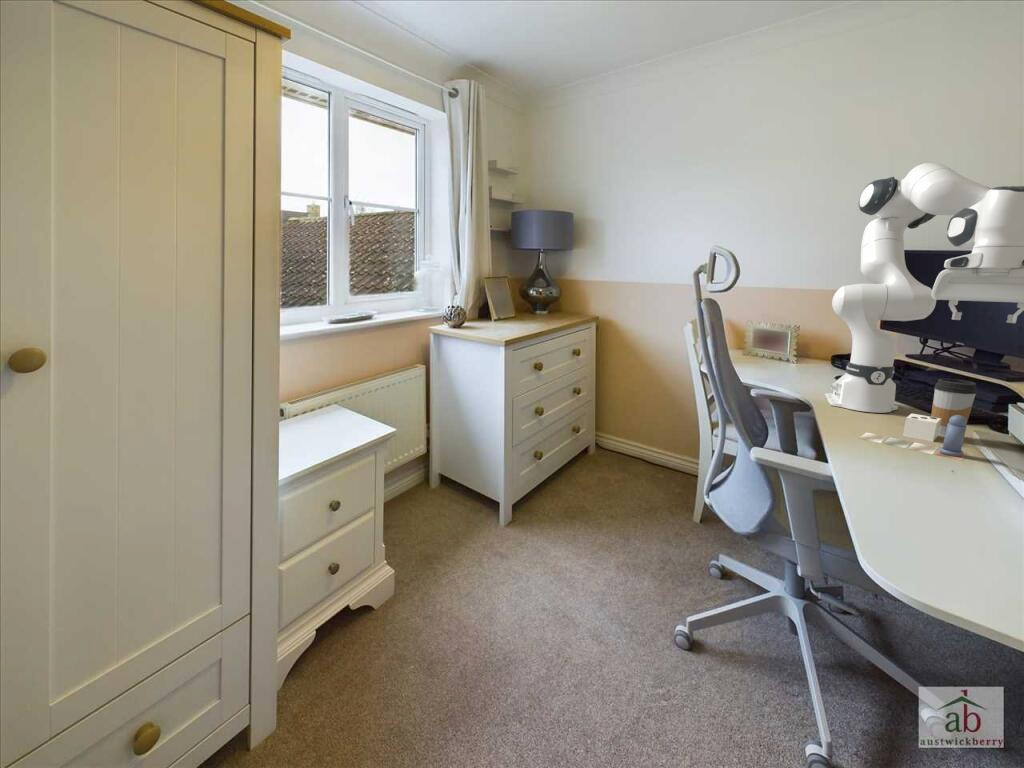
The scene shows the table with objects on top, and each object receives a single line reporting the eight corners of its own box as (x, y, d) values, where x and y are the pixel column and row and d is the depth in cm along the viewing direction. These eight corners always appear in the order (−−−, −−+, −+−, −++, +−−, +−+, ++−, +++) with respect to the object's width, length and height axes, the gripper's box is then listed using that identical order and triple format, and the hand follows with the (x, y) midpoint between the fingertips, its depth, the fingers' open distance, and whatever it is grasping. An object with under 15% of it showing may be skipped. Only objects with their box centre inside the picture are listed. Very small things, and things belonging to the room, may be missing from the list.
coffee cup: (933, 430, 134) (944, 377, 130) (972, 439, 127) (985, 383, 123) (918, 434, 130) (929, 380, 127) (957, 444, 123) (970, 386, 119)
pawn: (935, 450, 115) (943, 412, 113) (955, 451, 114) (964, 413, 112) (945, 456, 111) (954, 417, 109) (966, 457, 110) (975, 418, 108)
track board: (852, 442, 124) (853, 437, 123) (861, 435, 129) (862, 431, 129) (966, 467, 108) (967, 462, 108) (971, 458, 113) (973, 453, 113)
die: (901, 439, 126) (906, 417, 124) (907, 435, 130) (911, 413, 128) (931, 446, 121) (936, 422, 120) (936, 440, 125) (941, 418, 124)
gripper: (1064, 260, 106) (1048, 324, 109) (941, 261, 121) (930, 317, 124) (1063, 259, 102) (1046, 325, 105) (936, 260, 117) (925, 318, 120)
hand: (982, 321), depth 114 cm, fingers open, 8 cm apart
